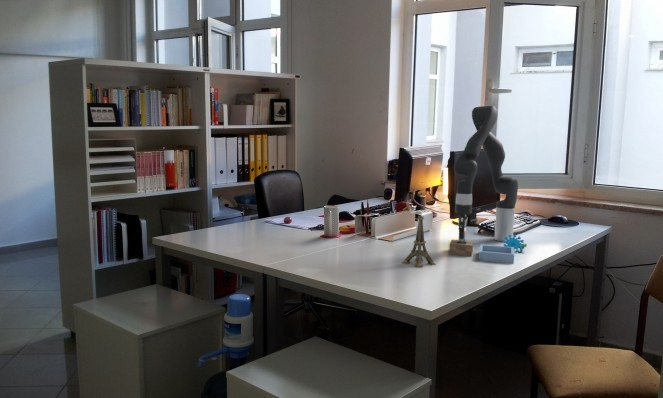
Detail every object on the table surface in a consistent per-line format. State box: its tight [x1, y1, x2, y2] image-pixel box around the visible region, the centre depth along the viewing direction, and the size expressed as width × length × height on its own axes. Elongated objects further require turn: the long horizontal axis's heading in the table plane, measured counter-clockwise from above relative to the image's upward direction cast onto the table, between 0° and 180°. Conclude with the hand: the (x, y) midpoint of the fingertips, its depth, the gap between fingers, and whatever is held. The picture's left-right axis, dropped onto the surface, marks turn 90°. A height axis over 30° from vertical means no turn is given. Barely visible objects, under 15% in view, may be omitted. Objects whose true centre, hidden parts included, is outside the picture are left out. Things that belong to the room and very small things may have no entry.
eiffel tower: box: [401, 214, 437, 269], centre depth 246 cm, size 11×11×25 cm
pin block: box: [448, 239, 474, 257], centre depth 269 cm, size 10×10×5 cm
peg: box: [458, 227, 467, 244], centre depth 268 cm, size 3×3×12 cm
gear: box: [502, 233, 528, 253], centre depth 276 cm, size 11×6×10 cm
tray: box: [478, 244, 515, 264], centre depth 260 cm, size 15×15×4 cm
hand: (461, 237), depth 268 cm, fingers open, 8 cm apart
